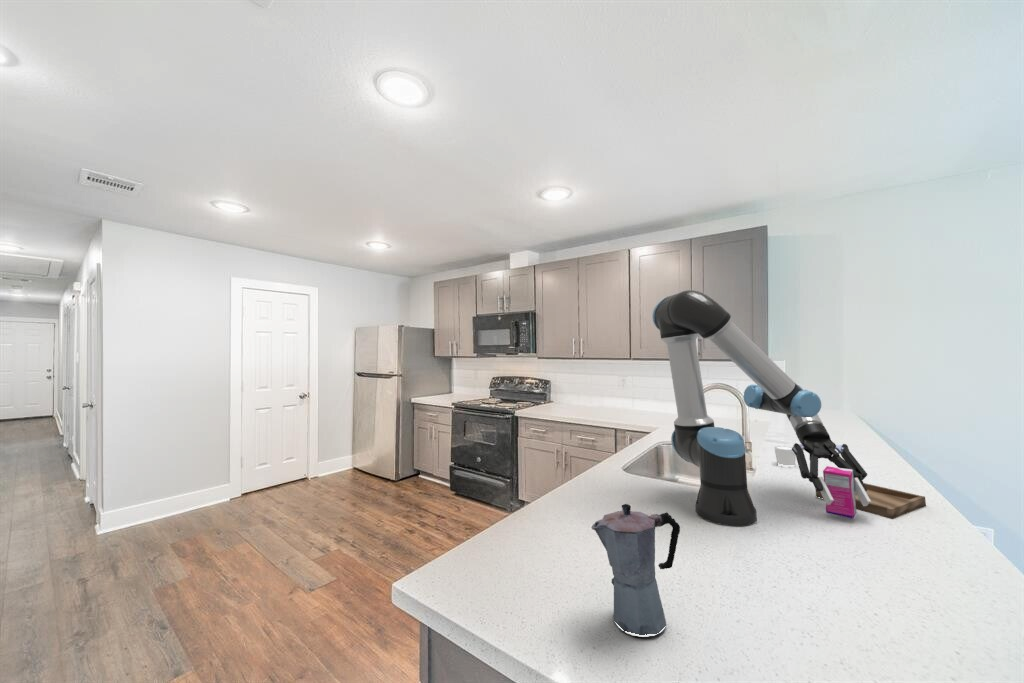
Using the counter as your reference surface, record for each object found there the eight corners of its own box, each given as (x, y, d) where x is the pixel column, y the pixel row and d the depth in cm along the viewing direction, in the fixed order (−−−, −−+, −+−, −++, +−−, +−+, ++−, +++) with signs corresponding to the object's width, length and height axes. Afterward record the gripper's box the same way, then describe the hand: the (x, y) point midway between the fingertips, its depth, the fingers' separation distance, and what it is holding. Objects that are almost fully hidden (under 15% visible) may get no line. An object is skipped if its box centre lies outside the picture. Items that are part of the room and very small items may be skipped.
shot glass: (800, 468, 147) (799, 450, 148) (780, 468, 149) (779, 449, 149) (791, 463, 154) (790, 445, 154) (772, 463, 156) (771, 445, 156)
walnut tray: (892, 518, 102) (891, 509, 102) (816, 497, 119) (815, 489, 119) (925, 505, 109) (925, 496, 110) (849, 487, 126) (848, 479, 126)
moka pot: (589, 607, 72) (584, 497, 73) (669, 599, 73) (663, 491, 74) (606, 645, 62) (599, 518, 63) (698, 635, 64) (690, 511, 64)
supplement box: (828, 506, 108) (826, 465, 109) (856, 512, 104) (854, 469, 104) (824, 512, 104) (822, 469, 105) (853, 519, 100) (851, 474, 101)
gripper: (842, 436, 118) (887, 511, 102) (768, 435, 122) (799, 508, 105) (853, 421, 113) (902, 498, 97) (775, 421, 117) (809, 495, 100)
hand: (848, 503), depth 101 cm, fingers closed on supplement box, 8 cm apart
